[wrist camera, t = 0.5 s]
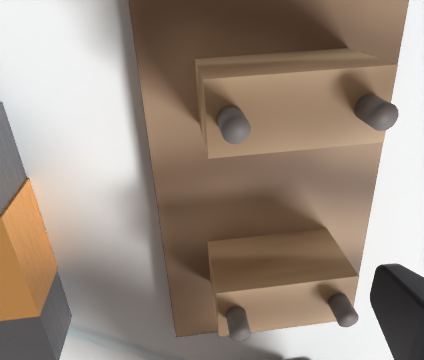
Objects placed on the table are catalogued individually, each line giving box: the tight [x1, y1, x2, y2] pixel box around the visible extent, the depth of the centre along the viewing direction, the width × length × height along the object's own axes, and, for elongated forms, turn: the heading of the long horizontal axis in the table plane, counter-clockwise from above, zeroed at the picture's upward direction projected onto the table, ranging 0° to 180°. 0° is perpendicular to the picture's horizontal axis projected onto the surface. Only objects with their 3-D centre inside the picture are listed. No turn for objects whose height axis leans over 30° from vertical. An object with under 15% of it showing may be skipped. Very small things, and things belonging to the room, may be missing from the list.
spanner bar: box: [0, 103, 72, 360], centre depth 19 cm, size 14×3×4 cm, turn 3°
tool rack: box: [129, 0, 409, 341], centre depth 18 cm, size 22×12×6 cm, turn 3°
